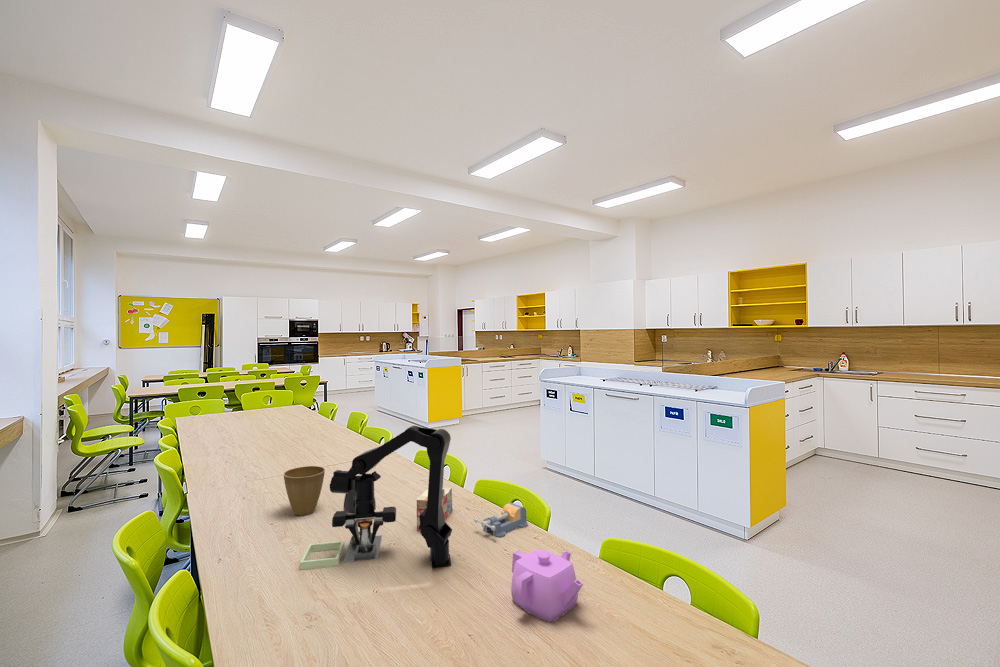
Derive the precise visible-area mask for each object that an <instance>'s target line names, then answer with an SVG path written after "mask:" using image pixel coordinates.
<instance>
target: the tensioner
mask: <svg viewBox="0 0 1000 667" xmlns="http://www.w3.org/2000/svg"><path fill="white" fill-rule="evenodd" d="M358 533H359V545H357V543H356V541H355V539H354V537H353V535H351V538H350V541H349V544H348V547H347V549H346V553H345V556H344V560H343V563H350V562H351V563H352V562H359V561H360V562H362V561H369V560H371V561H372V560H379V559H378V558H379V554H380V549H381V548H380V547H381V543H382V536H383V535H376V536H375V539H374V543H373V544H372V532H371V552H362V553H360V531H358Z"/></svg>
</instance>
